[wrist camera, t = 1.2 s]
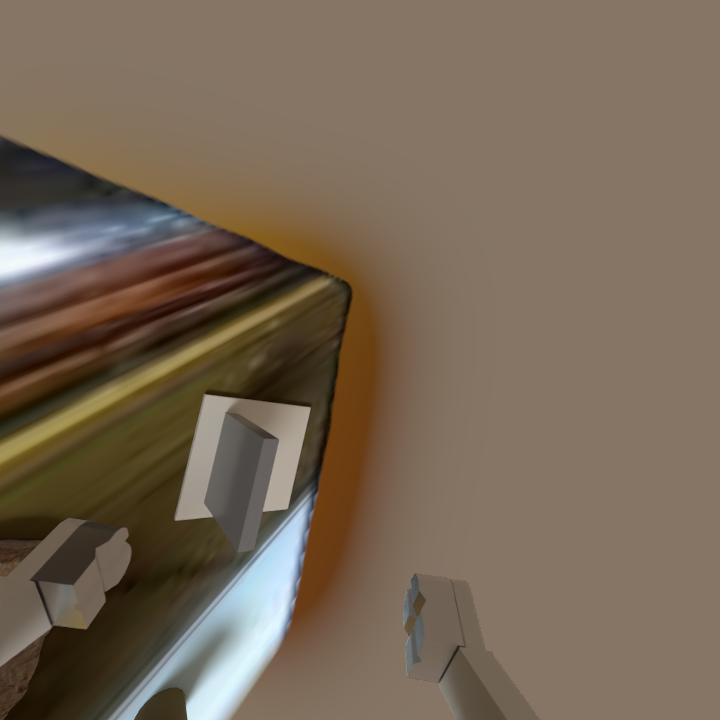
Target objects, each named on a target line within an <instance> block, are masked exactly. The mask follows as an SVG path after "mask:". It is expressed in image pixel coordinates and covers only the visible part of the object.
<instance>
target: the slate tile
mask: <svg viewBox="0 0 720 720" xmlns="http://www.w3.org/2000/svg"><path fill="white" fill-rule="evenodd" d="M278 443H279V439H278V438H276V437H275V436H273V435H272V434H270V433H268V432H267V431H265V430H264V429H262V428H260V427H259V426H257V425H256V424H254V423H252V422H251V421H249V420H248V419H246V418H245V417H243V416H241V415H240V414H235V413H225V417H224V421H223V425H222V429H221V433H220V437H219V442H218V446H217V450H216V454H215V458H214V463H213V467H212V471H211V475H210V479H209V483H208V488H207V492H206V496H205V500H204V504H205V505H206V507H207V508H208V510H209V511H210V513H211V514H212V516H213V517H214V519H215V520H216V522H217V523H218V524H219V526H220V527H221V529H222V530H223V532H224V533H225V535H226V536H227V538H228V539H229V541H230V542H231V544H232V545H233V547H234V548H235V550H236V551H237V553H238V552H244V551H250V550H254V547H255V543H256V538H257V534H258V530H259V525H260V521H261V517H262V512H263V508H264V504H265V499H266V495H267V491H268V487H269V482H270V478H271V474H272V469H273V465H274V461H275V456H276V452H277V448H278Z"/></svg>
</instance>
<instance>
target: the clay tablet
mask: <svg viewBox="0 0 720 720" xmlns="http://www.w3.org/2000/svg"><path fill="white" fill-rule="evenodd" d="M41 542H42V541H41V540H14V539H8V540H0V576H4V577H7V576H8V575H9V574H10V573H11V572H12V571H13V570H14V569H15V568H16V567H17V566H18V565H19V564H20V563H21V562H22V561H23V560H24V559H25V558H26V557H27V556H28V555H29V554H30V553H31V552H32V551H33V550H34V549H35V548H36V547H37V546H38V545H39V544H40V543H41ZM51 626H52V627H53V625H51ZM52 627H51V628H52ZM49 632H50V629H49V630H48V631H47V632H45V633H44V634H43V635H41V636H40V637H39V638H37V639H36V640H35V641H33V642H32V643H31V644H29V645H28V646H27V647H26V648H24V649H23V650H22V651H20V652H19V653H18V654H16V655H15V656H14V657H12V658H11V659H10V660H8V661H7V662H6V663H4V664H3V665H2V666H1V667H0V720H4V719H5V717H6V716H7V714H8V712H9V711H10V710H11V709H12V707H13V706H14V705H15V704H16V703H17V702H18V701H19V700H20V699H21V698H22V697H23V696H24V694H25V693H26V692H27V690H28V688H29V687H28V683H29V681H30V679H31V678H32V676H33V674H34V671H35V669H36V667H37V664H38V662H39V653H40V650H41V647H42V645H43V642H44V638H45V636H46V635H47V634H48V633H49Z"/></svg>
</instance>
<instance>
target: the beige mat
mask: <svg viewBox="0 0 720 720" xmlns="http://www.w3.org/2000/svg"><path fill="white" fill-rule="evenodd" d="M310 409H311V408H310V407H306V406H298V405H289V404H281V403H273V402H265V401H257V400H249V399H241V398H233V397H225V396H217V395H209V394H204V397H203V401H202V405H201V409H200V413H199V418H198V422H197V426H196V430H195V434H194V438H193V442H192V446H191V451H190V455H189V459H188V463H187V467H186V471H185V475H184V480H183V484H182V488H181V492H180V496H179V500H178V504H177V508H176V513H175V517H174V519H175V521H177V520H187V519H196V518H206V517H213V516H212V514H211V513H210V511H209V510H208V508H207V507H206V505H205V504H204V500H205V496H206V492H207V488H208V483H209V479H210V475H211V471H212V467H213V463H214V458H215V454H216V450H217V446H218V442H219V437H220V433H221V429H222V425H223V421H224V417H225V413H235V414H240V415H241V416H243V417H245V418H246V419H248V420H249V421H251V422H252V423H254V424H256V425H257V426H259V427H260V428H262V429H264V430H265V431H267V432H268V433H270V434H272V435H273V436H275V437H276V438H278V439H279V443H278V448H277V452H276V456H275V461H274V465H273V469H272V474H271V478H270V482H269V487H268V491H267V495H266V499H265V504H264V508H263V512H264V511H273V510H283V509H288V505H289V501H290V496H291V492H292V487H293V483H294V479H295V474H296V470H297V466H298V461H299V457H300V453H301V448H302V444H303V439H304V435H305V431H306V426H307V422H308V418H309V413H310Z"/></svg>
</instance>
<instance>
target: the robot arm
mask: <svg viewBox="0 0 720 720" xmlns="http://www.w3.org/2000/svg"><path fill="white" fill-rule="evenodd" d="M128 536H129V534H128V530H127V528H126V527H120V526H114V525H108V524H102V523H96V522H90V521H86V520H79V519H73V518H68V519H66V520H64V521H63V522H61V523H60V524H59V525H58V526H57V527H56V528H55V529H54V530H53V531H52V532H51V533H50V534H49V535H48V536H47V537H46V538H45V539H44V540H43V541H42V542H41V543H40V544H39V545H38V546H37V547H36V548H35V549H34V550H33V551H32V552H31V553H30V554H29V555H28V556H27V557H26V558H25V559H24V560H23V561H22V562H21V563H20V564H19V565H18V566H17V567H16V568H15V569H14V570H13V571H12V572H11V573H10V574H9V575H8V576H7V577H4V576H0V667H1V666H2V665H3V664H4V663H6V662H7V661H8V660H10V659H11V658H12V657H14V656H15V655H16V654H18V653H19V652H20V651H22V650H23V649H24V648H26V647H27V646H28V645H29V644H31V643H32V642H33V641H35V640H36V639H37V638H39V637H40V636H41V635H43V634H44V633H45V632H47V631H48V630H49V629H51V627H52V626H51V625H54V626H62V627H71V628H79V629H87V628H88V626H89V625H90V624H91V622H92V621H93V619H94V618H95V616H96V615H97V613H98V612H99V610H100V609H101V608H102V606H103V605H104V603H105V602H106V591H107V590H109V589H110V588H112V587H114V586H115V585H117V584H118V583H119V581H120V580H121V578H122V577H123V575H124V573H125V572H126V569H127V567H128V565H129V562H130V559H131V553H132V552H131V546H130V545H129V544H128V543H127V542H126V541H125V540H126V539H127V537H128ZM411 585H412V588H410V589H409V590H407V593H406V596H405V601H404V609H403V613H404V614H403V620H404V629H405V630H406V632H407V634H408V636H409V639H408V641H407V644H406V646H405V653H406V667H407V678H412V679H418V680H423V681H428V682H434V683H439V688H440V690H441V692H442V694H443V696H444V698H445V700H446V702H447V704H448V706H449V708H450V710H451V712H452V714H453V716H454V718H455V720H540V719H539V717H538V716H537V715H536V713H535V712H534V710H533V709H532V708H531V706H530V705H529V703H528V702H527V701H526V699H525V698H524V696H523V695H522V694H521V693H520V691H519V690H518V688H517V687H516V685H515V684H514V683H513V681H512V680H511V679H510V677H509V676H508V674H507V673H506V671H505V670H504V669H503V667H502V666H501V664H500V663H499V662H498V660H497V659H496V658H495V656H494V655H493V653H492V652H490V651H486V649H485V645H484V641H483V637H482V633H481V629H480V625H479V621H478V617H477V613H476V608H475V605H474V600H473V596H472V592H471V588H470V586H469V584H468V583H467V582H466V581H462V580H455V579H449V578H445V577H438V576H431V575H423V574H414V575H413V577H412V579H411Z"/></svg>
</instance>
